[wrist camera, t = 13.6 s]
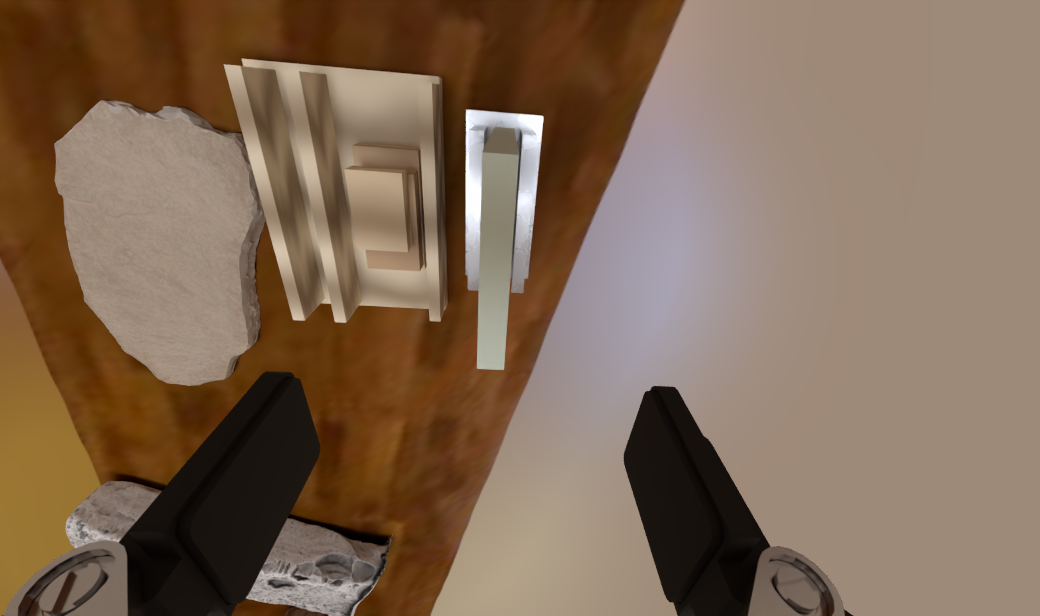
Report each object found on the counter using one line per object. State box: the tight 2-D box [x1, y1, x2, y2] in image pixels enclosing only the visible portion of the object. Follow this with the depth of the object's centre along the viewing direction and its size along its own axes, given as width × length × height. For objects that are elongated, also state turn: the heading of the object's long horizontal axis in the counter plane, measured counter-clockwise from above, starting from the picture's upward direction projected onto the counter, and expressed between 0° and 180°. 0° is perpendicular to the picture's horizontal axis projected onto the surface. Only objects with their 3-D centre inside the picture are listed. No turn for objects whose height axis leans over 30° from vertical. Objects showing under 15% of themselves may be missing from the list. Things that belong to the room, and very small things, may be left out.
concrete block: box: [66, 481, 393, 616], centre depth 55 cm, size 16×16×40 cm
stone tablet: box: [55, 100, 266, 386], centre depth 35 cm, size 16×30×2 cm, turn 157°
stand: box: [466, 109, 544, 293], centre depth 30 cm, size 14×6×6 cm, turn 176°
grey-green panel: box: [477, 127, 519, 370], centre depth 25 cm, size 12×2×15 cm, turn 176°
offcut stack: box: [344, 143, 427, 271], centre depth 30 cm, size 10×5×4 cm, turn 176°
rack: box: [224, 59, 448, 323], centre depth 31 cm, size 20×14×6 cm
